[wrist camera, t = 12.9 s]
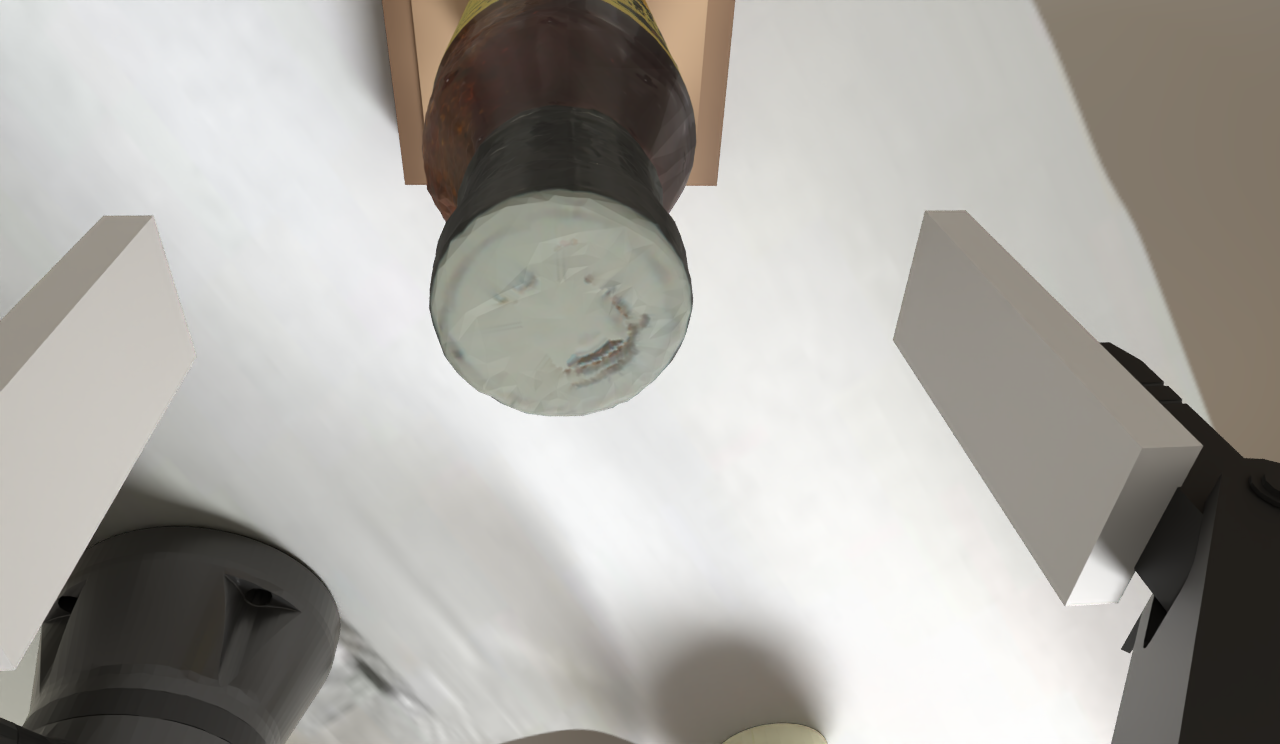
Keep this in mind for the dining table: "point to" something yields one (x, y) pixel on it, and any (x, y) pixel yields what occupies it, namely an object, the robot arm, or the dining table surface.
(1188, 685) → the robot arm
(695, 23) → the pedestal
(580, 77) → the sauce bottle
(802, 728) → the reusable coffee cup
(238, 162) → the dining table surface
